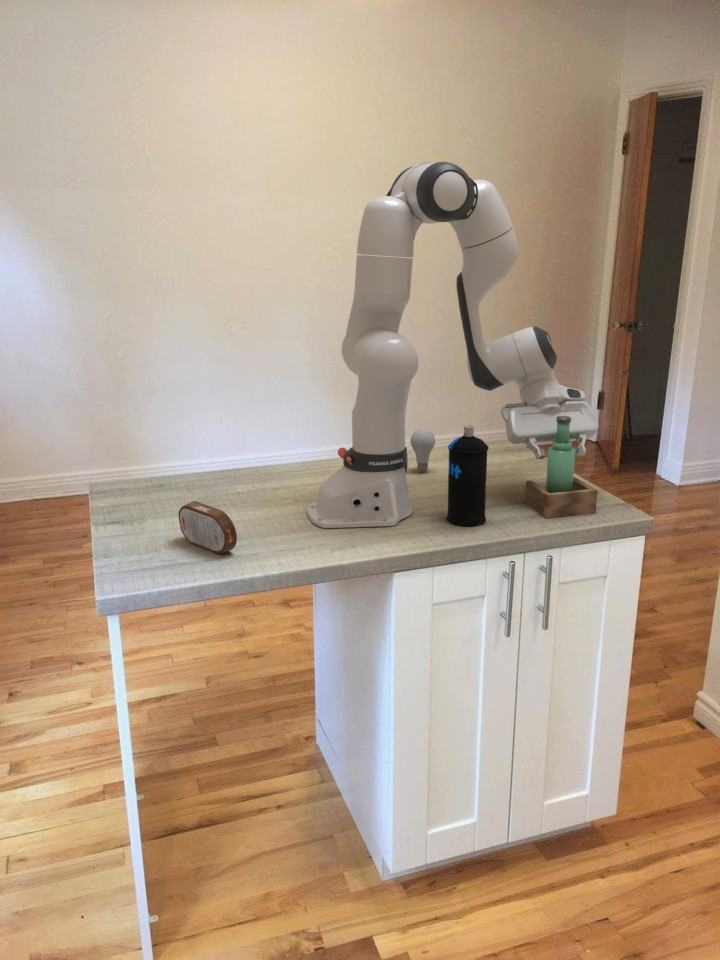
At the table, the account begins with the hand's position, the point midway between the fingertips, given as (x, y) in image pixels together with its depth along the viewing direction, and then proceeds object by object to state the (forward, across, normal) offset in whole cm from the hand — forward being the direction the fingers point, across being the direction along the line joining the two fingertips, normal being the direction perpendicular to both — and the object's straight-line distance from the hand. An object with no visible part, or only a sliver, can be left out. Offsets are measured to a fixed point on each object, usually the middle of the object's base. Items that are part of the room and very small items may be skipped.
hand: (561, 456), depth 167 cm
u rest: (+8, 0, +8) cm, 11 cm away
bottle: (+8, 0, +8) cm, 11 cm away
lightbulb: (-15, -20, +32) cm, 40 cm away
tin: (+10, -75, +7) cm, 76 cm away
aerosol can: (+10, -22, +7) cm, 25 cm away
